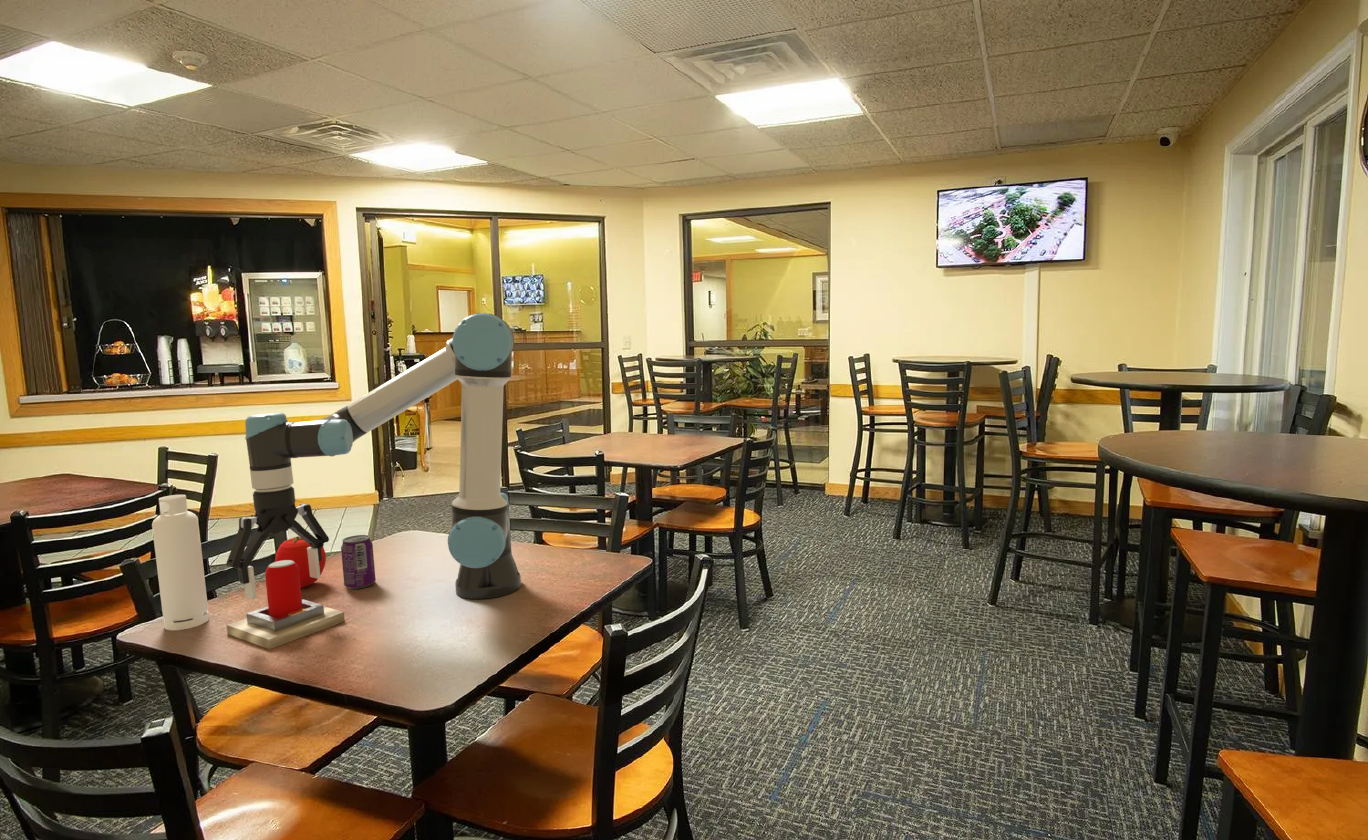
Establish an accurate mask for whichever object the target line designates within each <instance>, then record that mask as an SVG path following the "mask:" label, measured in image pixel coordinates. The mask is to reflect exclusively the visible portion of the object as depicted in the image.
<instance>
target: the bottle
mask: <svg viewBox="0 0 1368 840" xmlns="http://www.w3.org/2000/svg"><path fill="white" fill-rule="evenodd" d="M158 504H159V513H160V515H158V516H156V517H155V518H154V519H153V521H152V523H151V528H152V538H153V544H154V545H153V546H154V553H155V561H156V568H157V569H156V570H157V579H158V585H159V595H160V603H161V611H162V617H163V626H164V629H165V630H166V631H181V630H187V629H192V628H195V627H198V626H202V625H204V624H206V623H207V622H208V621H209V619H210V614H209V613H210V612H209V605H208V603H209V602H208V597H207V596H208V595H207V587H206V578H205V570H204V569H205V568H204V562H203V561H204V560H203V553H202V544H201V543H202V542H201V535H200V526H199V517H198V515H196V514H195V513H194V512H192V511H189V509H188V502H187V495H186V494H172V495H167V496H166V495H165V496H162V497H159V498H158Z"/></svg>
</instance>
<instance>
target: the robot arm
mask: <svg viewBox="0 0 1368 840" xmlns="http://www.w3.org/2000/svg"><path fill="white" fill-rule="evenodd" d="M514 347H515V336H514V333H513V330H512V329H511V327H510V325H509V324H508V323H507V322H506V321H505V320H503V319H502V318H501V317H499V316H498V315H495V314H492V313H487V312H475V313H472V314H470V315H468V316H466V317H464V318H463V319H462V320H461V321H460V322H459V323H458V324H457V325H456V328H455V329H454V332H453V334H452V338H450V339H448V340H446V344H445V347H443V348H442V349H440V350H439V351H436V352H435V353H434V354H432V355H430V356H429V357H426V358H425V359H423V360H422V361H419V362H418V363H416V364H414V365H413V366H411V367H409V368H408V369H406V370H405V371H403V372H401V373H399V374H398V375H396V376H394V377H393V378H391V379H389V380H388V381H386V382H384V383H382V384H381V385H379V386H378V387H376V388H374V389H372V390H371V391H369V392H368V393H366V394H364V395H363V396H361V397H359V398H357V399H356V400H354V401H352V402H351V403H349V404H348V405H346V406H344V407H342V408H340V409H339V410H337V411H335V412H334V413H332V414H330V415H327V416H326V417H323V418H320V419H319V418H318V419H315V420H307V421H306V420H305V421H303V420H302V421H288V419H287V415H286V414H285V413H284V412H270V413H269V412H267V413H257V414H252V415H249V416H247V417H246V419H245V421H244V422H245V423H244V426H245V438H244V439H245V440H246V441H245V442H246V448H247V456H248V462H249V472H250V481H251V489H253V490H254V491H253V492H252V500H253V508H254V511H255V514H254V516H253V517H243V516H241V517H240V518H238V530H237V534H236V536H235V539H234V542H233V544H232V547H231V550H230V552H229V554H228V558H227V561H226V562H225V564H226V566H227V567H230V568H234V569H237V574H238V581H239V583H240V584H242V585H243V586H244V594H245V598H247V599H249V600H255V599H257V598H258V597H257V589H256V580H255V572H254V566H252V565H251V563H252V561H253V559H254V558H255V556H256V555H257V553H258V551H259V550H260V549H261V546H262V545H263V544H264V542H265V540H266V539H267V538H269V536H270V535H271V534H272V535H276V534H278V533H280V532H286V531H289V530H290V531H292V532H294V533H295V534H296V535H297V536H299V537H301V538H302V539H303V540H304V541H306V542H307V543H308V544H309V545H311V546H312V547H309V548H307V553H308V562H309V571H310V577H313V578H318V579H320V578H322V577H321V576H320V568H319V561H321V560H322V554H321V548H322V547H323V548H324V545H325V543H328V542H329V541H330V538H329V536H328V534H327V533H326V532H325V530H324V529H323V527H322V526H321V524H320V523H319V521H318V520H317V518H316V517H315V516H314V514H313V510H312V506H311V505H310V504H306V503H300V504H299V506H296V496H295V495H296V494H295V488H294V487H293V486H292V485H293V484H294V476H293V467H292V459H298V458H312V457H313V458H314V457H315V458H317V457H335V456H340V455H347V454H349V453H350V452H351V450H352V447H353V443H355V441H356V440H358V439H360V438H361V437H363V436H365V435H366V434H368V433H370V432H371V431H373V430H375V429H377V428H378V427H379V426H381V425H384V424H385V423H386V422H388V421H390V420H391V419H393V418H395V417H397V416H399V414H402V413H403V412H405V411H407V410H409V409H410V408H411V407H413V406H415V405H417V404H419V403H420V402H421V401H424V400H426V399H427V398H429V397H431V396H433V395H434V394H435V393H437V392H439V391H440V390H442V389H443V388H446V387H448V386H449V385H451V384H452V383H454V382H456V381H459V382H460V384H461V408H460V409H461V412H460V413H461V414H460V415H461V416H460V420H461V421H460V446H459V447H460V448H459V449H460V450H459V451H460V456H459V458H460V459H459V493H458V496H456V497H455V498H454V500H452V502H451V518H450V519H451V521H450V525H451V526H450V530H449V532H448V536H447V548H448V550H449V553H450V555H451V557H452V558H453V559H454V560H455V561H456V562H457V563H458V564H459V570H458V573H457V578H456V580H455V593H456V595H457V596H458V597H460V598H464V599H469V600H470V599H471V600H482V599H483V600H485V599H486V600H487V599H492V598H497V597H503V596H506V595H508V594H509V595H510V594H512V593H513V592H515V591H517V590H519V589H520V588H521V587H522V579H521V578H522V576H521V574H520V572H519V570H518V567H517V564H516V562H515V559H514V556H513V553H512V551H513V550H512V537H511V523H510V508H509V507H510V502H509V496H508V494H506V493H505V492H501V483H502V481H501V480H502V479H501V478H502V477H501V476H502V475H501V474H502V450H503V449H502V448H503V447H502V446H503V445H502V442H503V417H504V416H503V415H504V414H503V413H504V410H503V409H504V386H505V385H506V384H507V383H508V382H509V381H510V380H511V378H512V362H513V360H512V358H513V350H514ZM298 515H299V516H301V518H302V519H303V521H304V522H305V523H306V525H307V526H308V528H309V529H310V530H311V532H312V533H310V532H309V531H308V530H306V529H305V527H303V526H302V524H301V523H299V522H298V521H297V520H296V518H297V516H298ZM255 524H256V525H257V528H256V529H255V531H254V532H253V536H252V537H251V538H250V536H251V533H252V528H254V525H255ZM249 539H250V541H249ZM248 542H249V543H248Z"/></svg>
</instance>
